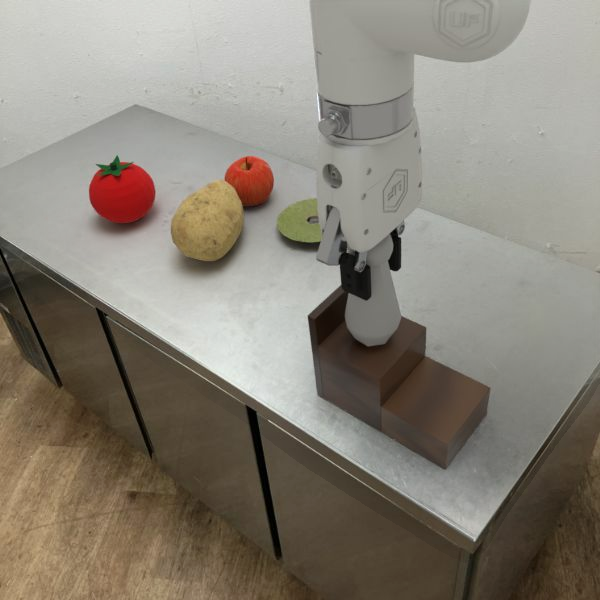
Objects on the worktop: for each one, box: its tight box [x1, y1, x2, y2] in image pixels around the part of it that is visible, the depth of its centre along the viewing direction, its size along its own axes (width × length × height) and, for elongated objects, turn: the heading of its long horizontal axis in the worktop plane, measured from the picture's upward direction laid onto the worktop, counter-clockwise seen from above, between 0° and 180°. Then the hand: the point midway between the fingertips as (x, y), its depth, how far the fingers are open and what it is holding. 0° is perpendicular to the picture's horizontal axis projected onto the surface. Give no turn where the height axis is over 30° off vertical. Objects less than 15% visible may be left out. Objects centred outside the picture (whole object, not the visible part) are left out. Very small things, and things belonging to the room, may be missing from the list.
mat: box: [276, 197, 323, 243], centre depth 99 cm, size 11×11×2 cm
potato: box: [170, 179, 245, 262], centre depth 95 cm, size 10×14×10 cm
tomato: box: [88, 154, 156, 224], centre depth 104 cm, size 10×10×10 cm
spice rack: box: [307, 284, 492, 470], centre depth 69 cm, size 17×9×13 cm, turn 50°
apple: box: [223, 155, 275, 207], centre depth 104 cm, size 8×8×8 cm
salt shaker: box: [345, 233, 402, 346], centre depth 64 cm, size 6×6×13 cm
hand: (371, 277), depth 64 cm, fingers closed on salt shaker, 4 cm apart
